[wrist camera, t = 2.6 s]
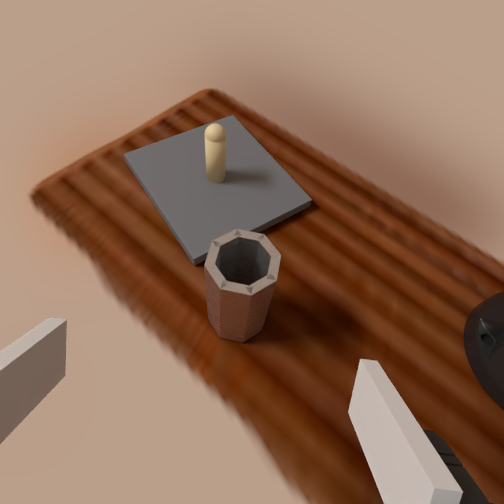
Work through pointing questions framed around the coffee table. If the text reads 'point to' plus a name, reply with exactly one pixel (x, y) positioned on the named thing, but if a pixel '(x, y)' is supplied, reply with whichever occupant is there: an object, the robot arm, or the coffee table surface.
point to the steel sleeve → (240, 283)
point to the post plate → (215, 184)
